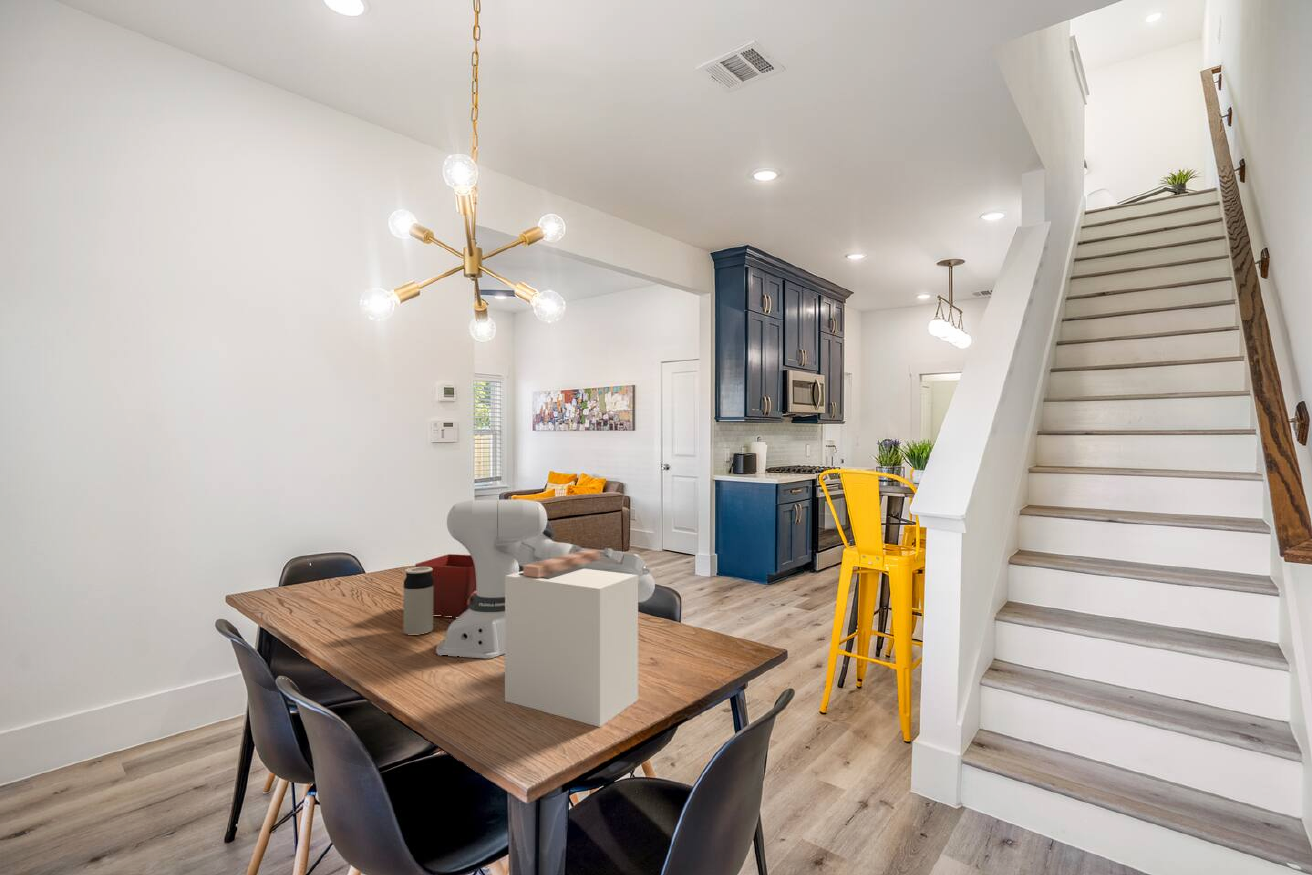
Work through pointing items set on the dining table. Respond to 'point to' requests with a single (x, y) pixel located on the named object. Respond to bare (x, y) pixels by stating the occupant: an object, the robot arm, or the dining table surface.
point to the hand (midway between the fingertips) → (589, 549)
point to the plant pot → (451, 583)
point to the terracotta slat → (560, 563)
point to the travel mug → (418, 600)
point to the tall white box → (572, 643)
